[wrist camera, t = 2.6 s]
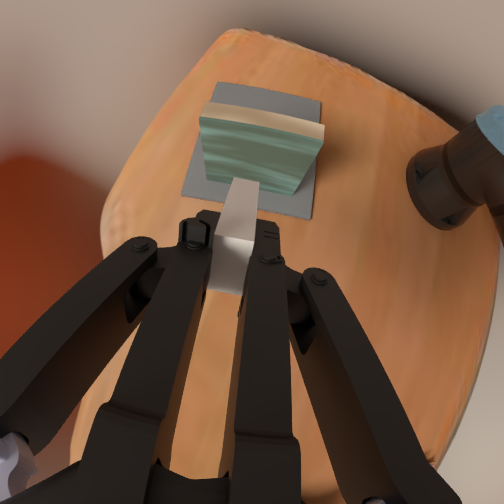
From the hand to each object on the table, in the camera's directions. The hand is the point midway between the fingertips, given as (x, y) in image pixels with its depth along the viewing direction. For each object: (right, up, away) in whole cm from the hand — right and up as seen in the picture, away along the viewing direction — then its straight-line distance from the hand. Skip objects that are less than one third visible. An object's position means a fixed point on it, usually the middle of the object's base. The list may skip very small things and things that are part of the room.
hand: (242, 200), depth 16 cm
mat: (+2, +14, +24) cm, 28 cm away
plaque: (0, +7, +22) cm, 23 cm away
